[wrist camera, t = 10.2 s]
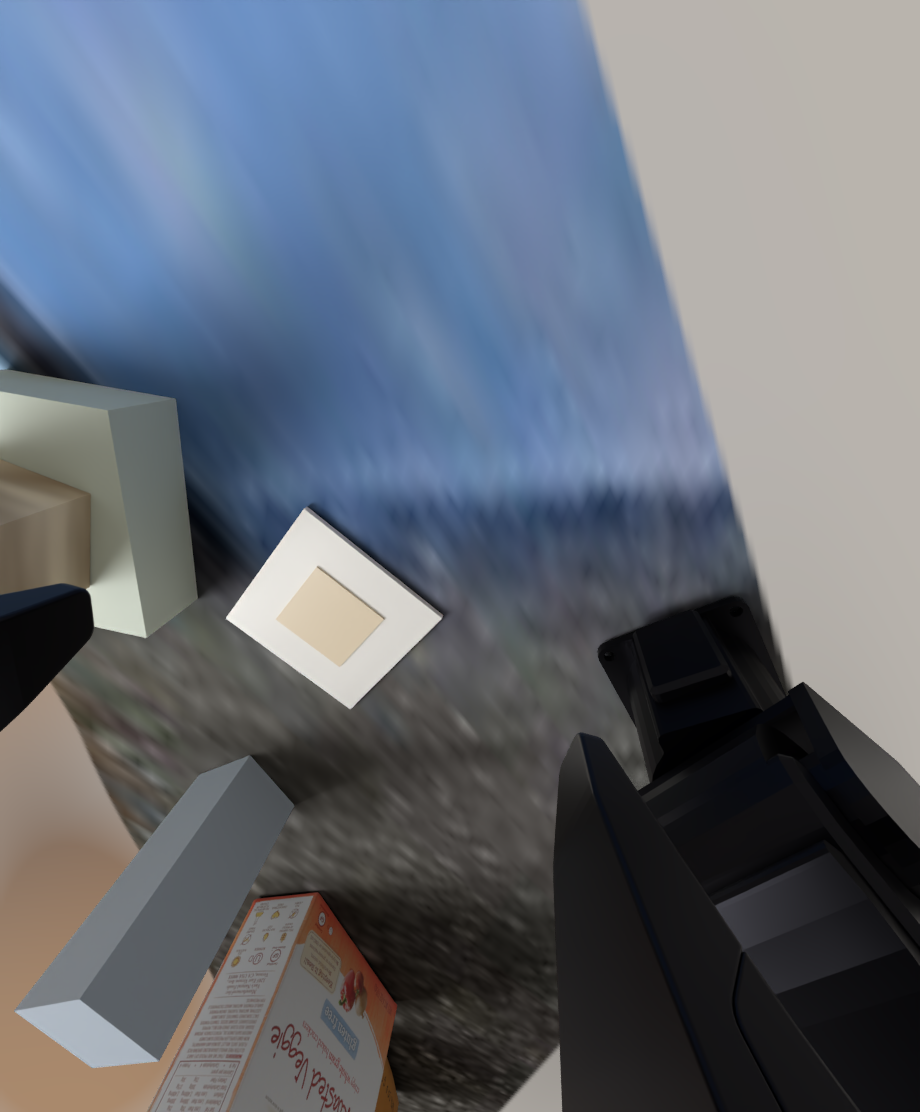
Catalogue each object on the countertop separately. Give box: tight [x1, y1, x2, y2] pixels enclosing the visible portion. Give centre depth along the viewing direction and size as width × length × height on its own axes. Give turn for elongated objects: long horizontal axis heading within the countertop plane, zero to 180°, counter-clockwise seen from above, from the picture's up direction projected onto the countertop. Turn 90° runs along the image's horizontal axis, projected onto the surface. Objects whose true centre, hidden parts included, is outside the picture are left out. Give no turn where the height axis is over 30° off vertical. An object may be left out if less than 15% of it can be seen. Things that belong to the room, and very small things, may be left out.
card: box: [226, 507, 443, 709], centre depth 24 cm, size 8×8×1 cm
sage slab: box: [0, 370, 198, 638], centre depth 22 cm, size 10×8×4 cm
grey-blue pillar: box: [15, 755, 294, 1068], centre depth 25 cm, size 4×4×12 cm
